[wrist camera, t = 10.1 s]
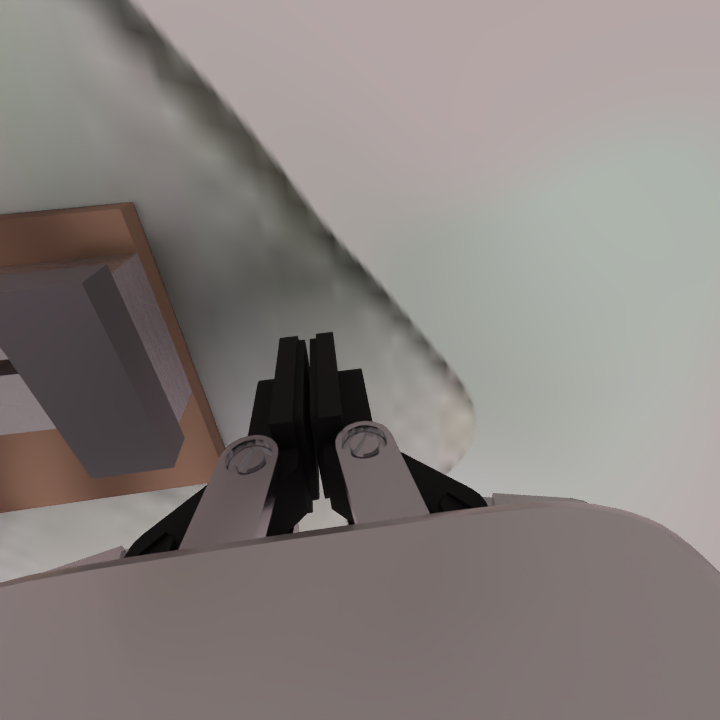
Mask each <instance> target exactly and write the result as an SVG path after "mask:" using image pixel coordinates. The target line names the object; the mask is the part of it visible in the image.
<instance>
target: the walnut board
mask: <svg viewBox="0 0 720 720" xmlns="http://www.w3.org/2000/svg"><path fill="white" fill-rule="evenodd" d="M135 252H137V253H138V255H139V258H140V260H141V263H142V266H143V268H144V271H145V273H146V276H147V278H148V281H149V283H150V286H151V288H152V291H153V293H154V296H155V298H156V301H157V303H158V306H159V308H160V311H161V313H162V316H163V318H164V321H165V323H166V326H167V329H168V331H169V334H170V336H171V339H172V341H173V344H174V346H175V349H176V351H177V354H178V356H179V359H180V361H181V364H182V366H183V369H184V371H185V374H186V376H187V379H188V381H189V384H190V387H191V389H192V392H191V395H190V397H189V400H188V402H187V405H186V407H185V410H184V412H183V415H182V417H181V420H180V422H179V425H180V428H181V430H182V432H183V434H184V437H185V439H184V442H183V444H182V447H181V450H180V452H179V455H178V458H177V461H176V463H175V466H174V468H167V469H160V470H153V471H146V472H139V473H132V474H125V475H118V476H111V477H103V478H96V479H91V477H90V476H89V474H88V473H87V471H86V470H85V469H84V467H83V466H82V464H81V463H80V461H79V460H78V458H77V457H76V456H75V454H74V453H73V451H72V450H71V448H70V447H69V445H68V444H67V443H66V441H65V440H64V438H63V437H62V435H61V434H60V433H59V431H58V430H57V429H49V430H41V431H32V432H23V433H15V434H6V435H0V513H3V512H10V511H16V510H23V509H30V508H37V507H44V506H51V505H58V504H65V503H72V502H79V501H86V500H93V499H100V498H107V497H114V496H121V495H127V494H134V493H141V492H148V491H155V490H162V489H169V488H176V487H183V486H190V485H197V484H204V483H208V482H209V480H210V478H211V476H212V473H213V471H214V469H215V467H216V464H217V462H218V460H219V458H220V456H221V454H222V453H223V451H224V450H225V447H224V445H223V442H222V439H221V437H220V434H219V431H218V429H217V426H216V423H215V421H214V418H213V415H212V413H211V410H210V407H209V405H208V402H207V399H206V397H205V394H204V391H203V389H202V386H201V383H200V381H199V378H198V375H197V373H196V370H195V367H194V365H193V362H192V359H191V357H190V354H189V351H188V349H187V346H186V344H185V341H184V338H183V336H182V333H181V330H180V328H179V325H178V322H177V320H176V317H175V314H174V312H173V309H172V306H171V304H170V301H169V298H168V296H167V293H166V290H165V288H164V285H163V282H162V280H161V277H160V274H159V272H158V269H157V266H156V264H155V261H154V258H153V256H152V253H151V250H150V248H149V245H148V242H147V240H146V237H145V235H144V232H143V229H142V227H141V224H140V221H139V219H138V216H137V213H136V211H135V208H134V205H133V203H132V202H131V203H120V204H110V205H99V206H89V207H78V208H68V209H57V210H47V211H36V212H25V213H15V214H4V215H0V266H9V265H19V264H29V263H38V262H48V261H58V260H67V259H77V258H87V257H96V256H106V255H116V254H125V253H135Z"/></svg>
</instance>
